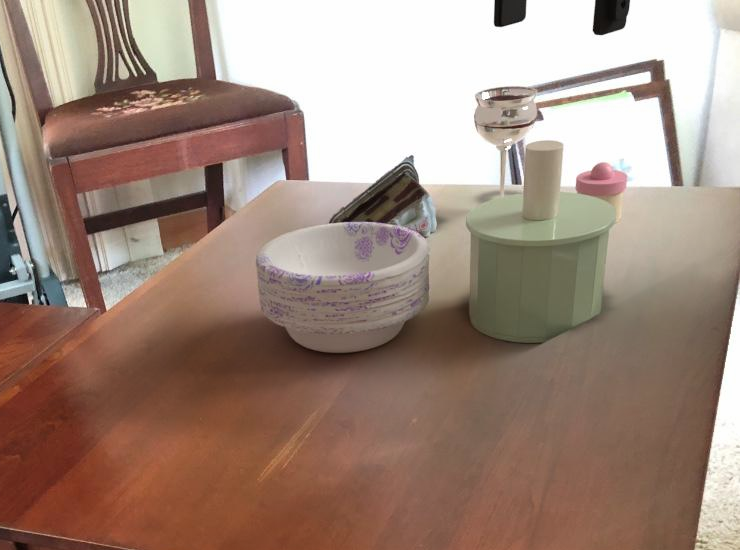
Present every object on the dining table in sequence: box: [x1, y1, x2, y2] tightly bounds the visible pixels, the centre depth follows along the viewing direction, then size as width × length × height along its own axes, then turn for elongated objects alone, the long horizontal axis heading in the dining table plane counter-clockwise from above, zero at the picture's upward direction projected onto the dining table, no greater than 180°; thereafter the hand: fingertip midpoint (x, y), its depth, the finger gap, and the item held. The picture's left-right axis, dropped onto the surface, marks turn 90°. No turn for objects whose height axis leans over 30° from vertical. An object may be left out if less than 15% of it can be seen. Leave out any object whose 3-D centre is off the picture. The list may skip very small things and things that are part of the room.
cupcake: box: [575, 161, 628, 224], centre depth 103 cm, size 5×5×6 cm
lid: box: [465, 139, 617, 246], centre depth 80 cm, size 12×12×7 cm
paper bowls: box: [255, 222, 430, 354], centre depth 86 cm, size 15×15×8 cm
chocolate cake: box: [327, 154, 438, 238], centre depth 106 cm, size 10×7×12 cm
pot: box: [468, 229, 610, 344], centre depth 84 cm, size 11×11×8 cm
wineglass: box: [473, 85, 539, 197], centre depth 106 cm, size 7×7×12 cm
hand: (557, 27), depth 75 cm, fingers open, 9 cm apart
